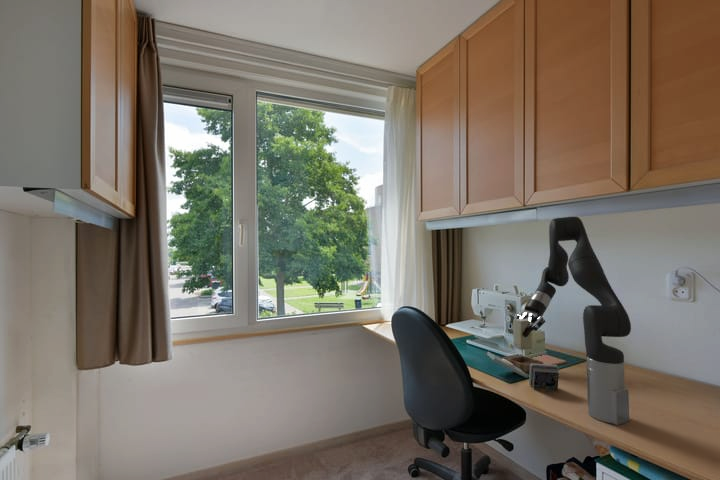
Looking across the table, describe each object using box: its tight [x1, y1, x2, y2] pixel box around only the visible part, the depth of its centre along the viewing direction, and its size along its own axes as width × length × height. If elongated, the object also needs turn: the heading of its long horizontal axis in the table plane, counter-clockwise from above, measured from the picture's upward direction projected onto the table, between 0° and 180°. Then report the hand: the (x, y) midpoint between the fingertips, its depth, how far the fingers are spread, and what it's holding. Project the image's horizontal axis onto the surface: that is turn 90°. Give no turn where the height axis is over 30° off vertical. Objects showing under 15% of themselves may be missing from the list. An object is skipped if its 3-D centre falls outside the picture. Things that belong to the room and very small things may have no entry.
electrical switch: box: [528, 363, 560, 392], centre depth 121 cm, size 9×5×9 cm, turn 75°
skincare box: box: [512, 318, 533, 351], centre depth 144 cm, size 6×4×12 cm
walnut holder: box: [502, 353, 543, 374], centre depth 144 cm, size 12×10×3 cm
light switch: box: [486, 351, 528, 379], centre depth 136 cm, size 8×6×14 cm
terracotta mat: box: [532, 354, 567, 366], centre depth 151 cm, size 12×12×1 cm
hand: (519, 334), depth 143 cm, fingers closed on skincare box, 4 cm apart
